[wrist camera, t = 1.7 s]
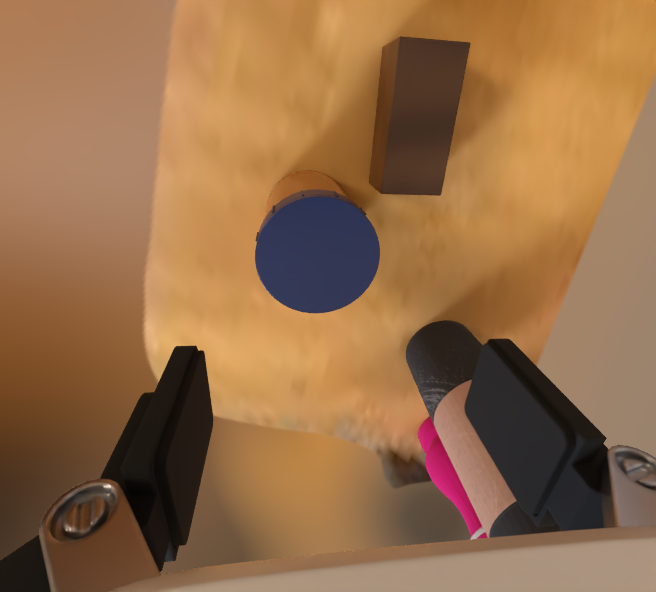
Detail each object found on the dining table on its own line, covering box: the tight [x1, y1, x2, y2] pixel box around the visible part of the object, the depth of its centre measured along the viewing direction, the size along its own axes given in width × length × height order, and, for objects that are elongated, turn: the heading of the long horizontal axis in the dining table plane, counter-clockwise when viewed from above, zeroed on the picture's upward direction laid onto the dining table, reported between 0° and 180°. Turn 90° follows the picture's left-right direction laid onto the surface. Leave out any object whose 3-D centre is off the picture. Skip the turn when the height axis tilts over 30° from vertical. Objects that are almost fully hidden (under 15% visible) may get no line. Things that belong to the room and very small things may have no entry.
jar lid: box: [255, 189, 380, 313], centre depth 21 cm, size 7×7×2 cm
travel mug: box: [406, 321, 562, 538], centre depth 28 cm, size 8×8×20 cm
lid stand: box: [369, 37, 470, 195], centre depth 25 cm, size 9×4×4 cm, turn 177°
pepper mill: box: [418, 417, 488, 539], centre depth 34 cm, size 7×7×20 cm
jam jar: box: [265, 171, 348, 217], centre depth 25 cm, size 7×7×10 cm
